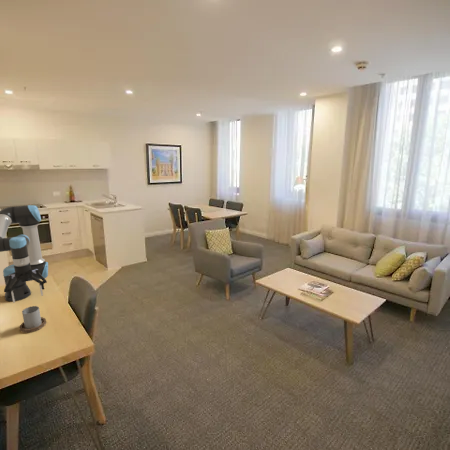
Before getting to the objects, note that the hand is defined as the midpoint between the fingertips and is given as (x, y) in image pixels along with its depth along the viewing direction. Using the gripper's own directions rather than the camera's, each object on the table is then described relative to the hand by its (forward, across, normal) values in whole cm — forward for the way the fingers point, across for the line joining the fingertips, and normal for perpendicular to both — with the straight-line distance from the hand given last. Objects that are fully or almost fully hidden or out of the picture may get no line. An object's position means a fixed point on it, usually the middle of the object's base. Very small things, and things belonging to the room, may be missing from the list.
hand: (28, 298), depth 167 cm
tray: (+18, 0, 0) cm, 18 cm away
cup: (+18, 0, 0) cm, 18 cm away
